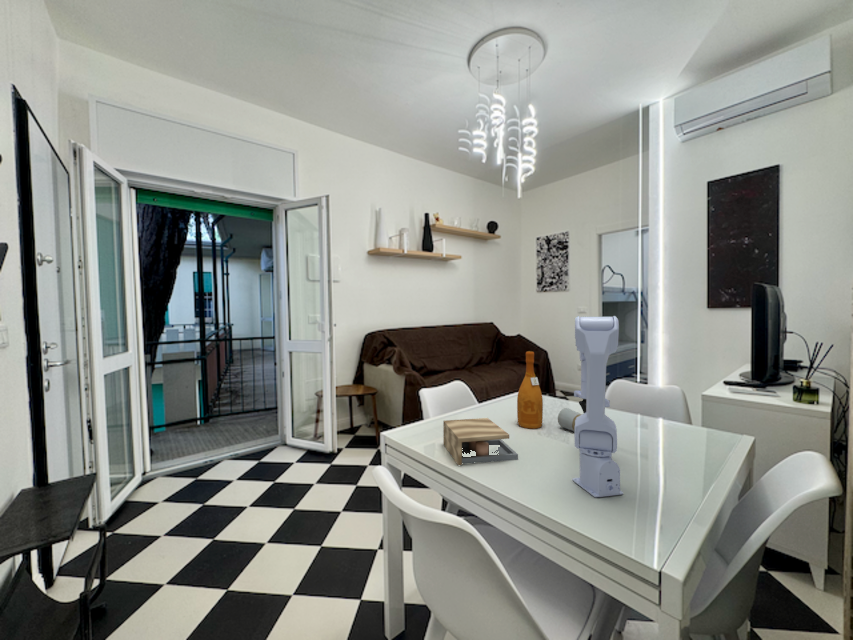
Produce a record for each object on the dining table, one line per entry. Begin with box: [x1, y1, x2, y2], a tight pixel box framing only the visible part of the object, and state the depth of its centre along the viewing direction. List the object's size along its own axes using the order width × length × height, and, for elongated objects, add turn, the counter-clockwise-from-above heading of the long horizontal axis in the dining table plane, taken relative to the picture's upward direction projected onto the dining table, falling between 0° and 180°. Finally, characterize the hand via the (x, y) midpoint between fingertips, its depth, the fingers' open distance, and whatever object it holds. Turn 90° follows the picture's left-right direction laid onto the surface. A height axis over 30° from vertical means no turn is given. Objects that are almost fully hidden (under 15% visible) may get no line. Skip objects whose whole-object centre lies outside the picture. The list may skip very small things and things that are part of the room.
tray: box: [462, 439, 519, 464], centre depth 114 cm, size 14×18×2 cm
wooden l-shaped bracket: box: [442, 417, 510, 466], centre depth 115 cm, size 18×16×8 cm
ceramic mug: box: [557, 407, 583, 433], centre depth 138 cm, size 11×8×8 cm
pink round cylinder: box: [476, 441, 489, 456], centre depth 111 cm, size 4×4×4 cm
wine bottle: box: [516, 350, 544, 430], centre depth 143 cm, size 10×10×30 cm
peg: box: [469, 441, 477, 451], centre depth 118 cm, size 4×4×4 cm
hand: (590, 424), depth 112 cm, fingers closed
